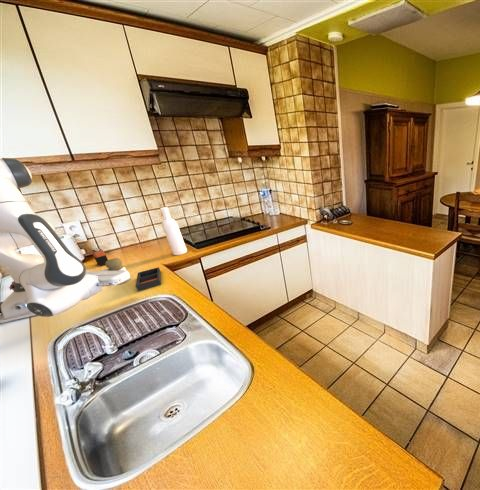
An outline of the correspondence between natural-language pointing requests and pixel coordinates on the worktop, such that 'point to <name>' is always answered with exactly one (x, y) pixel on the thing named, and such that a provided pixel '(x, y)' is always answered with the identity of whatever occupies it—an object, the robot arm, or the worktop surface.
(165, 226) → the bottle
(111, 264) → the cork
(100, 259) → the battery
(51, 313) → the robot arm
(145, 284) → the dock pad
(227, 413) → the worktop surface
